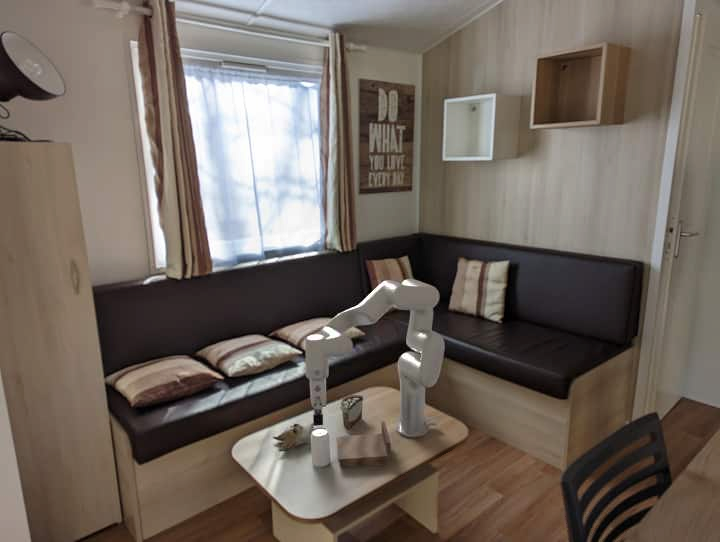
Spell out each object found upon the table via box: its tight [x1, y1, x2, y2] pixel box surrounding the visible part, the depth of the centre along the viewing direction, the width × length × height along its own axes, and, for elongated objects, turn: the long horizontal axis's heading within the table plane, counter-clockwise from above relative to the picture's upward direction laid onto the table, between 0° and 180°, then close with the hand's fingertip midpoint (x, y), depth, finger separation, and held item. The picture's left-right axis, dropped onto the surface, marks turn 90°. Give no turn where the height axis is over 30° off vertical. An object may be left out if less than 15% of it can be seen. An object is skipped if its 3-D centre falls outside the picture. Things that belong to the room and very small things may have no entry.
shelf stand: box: [336, 420, 392, 469], centre depth 180 cm, size 18×14×9 cm
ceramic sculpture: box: [272, 422, 315, 452], centre depth 188 cm, size 11×9×15 cm
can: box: [310, 427, 331, 468], centre depth 177 cm, size 6×6×12 cm
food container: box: [339, 394, 364, 431], centre depth 202 cm, size 12×6×10 cm, turn 149°
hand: (318, 417), depth 174 cm, fingers open, 9 cm apart
